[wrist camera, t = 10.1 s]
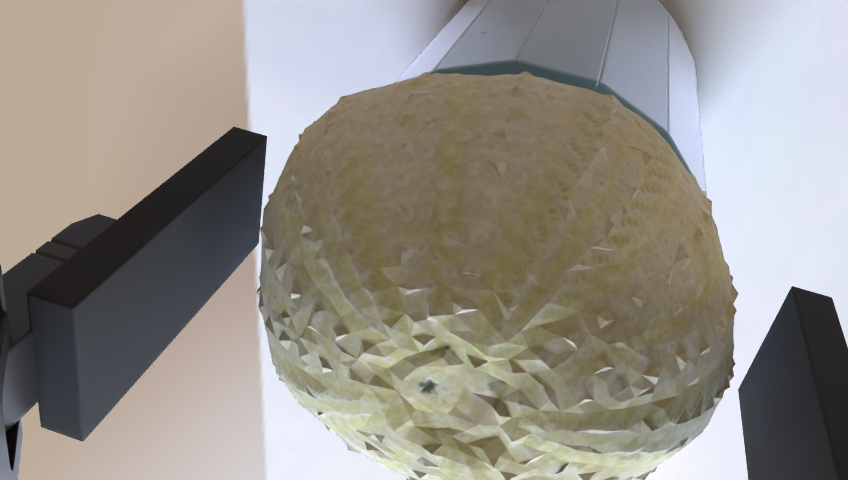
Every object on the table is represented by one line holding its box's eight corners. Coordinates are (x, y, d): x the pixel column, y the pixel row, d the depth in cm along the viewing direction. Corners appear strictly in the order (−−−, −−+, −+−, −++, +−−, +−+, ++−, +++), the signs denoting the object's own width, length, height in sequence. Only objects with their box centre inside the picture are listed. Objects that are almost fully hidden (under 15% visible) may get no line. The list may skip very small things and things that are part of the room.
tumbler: (737, 0, 23) (777, 127, 15) (645, 239, 27) (635, 443, 19) (463, -67, 24) (351, 16, 16) (416, 173, 28) (310, 339, 20)
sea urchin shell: (497, 556, 19) (209, 617, 13) (404, 270, 23) (145, 217, 17) (874, 398, 14) (690, 383, 9) (682, 69, 18) (458, -101, 12)
